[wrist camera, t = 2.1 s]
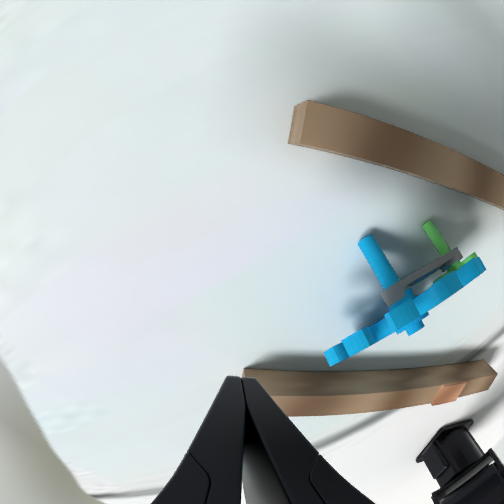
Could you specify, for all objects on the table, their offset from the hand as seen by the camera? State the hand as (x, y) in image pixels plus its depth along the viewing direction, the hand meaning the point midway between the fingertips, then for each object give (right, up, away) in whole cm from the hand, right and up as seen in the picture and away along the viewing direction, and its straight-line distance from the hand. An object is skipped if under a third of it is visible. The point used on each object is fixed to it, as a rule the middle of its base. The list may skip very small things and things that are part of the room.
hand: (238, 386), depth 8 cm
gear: (+9, +2, +10) cm, 14 cm away
